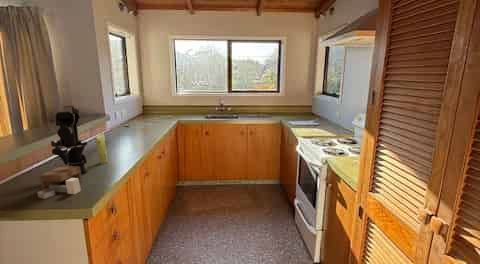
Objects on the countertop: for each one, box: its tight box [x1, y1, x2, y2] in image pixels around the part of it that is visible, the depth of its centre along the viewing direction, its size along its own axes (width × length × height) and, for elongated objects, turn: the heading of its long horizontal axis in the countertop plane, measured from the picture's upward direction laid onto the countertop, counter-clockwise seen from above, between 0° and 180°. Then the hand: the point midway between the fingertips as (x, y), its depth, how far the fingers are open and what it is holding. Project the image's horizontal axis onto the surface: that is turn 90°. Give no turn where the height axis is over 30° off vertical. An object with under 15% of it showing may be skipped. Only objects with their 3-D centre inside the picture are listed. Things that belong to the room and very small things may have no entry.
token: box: [36, 188, 56, 200], centre depth 132 cm, size 5×5×3 cm
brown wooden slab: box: [39, 165, 83, 191], centre depth 143 cm, size 14×12×8 cm
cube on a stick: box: [49, 178, 82, 195], centre depth 136 cm, size 4×16×7 cm, turn 79°
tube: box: [94, 133, 109, 164], centre depth 177 cm, size 6×5×20 cm
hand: (73, 161), depth 145 cm, fingers open, 9 cm apart
